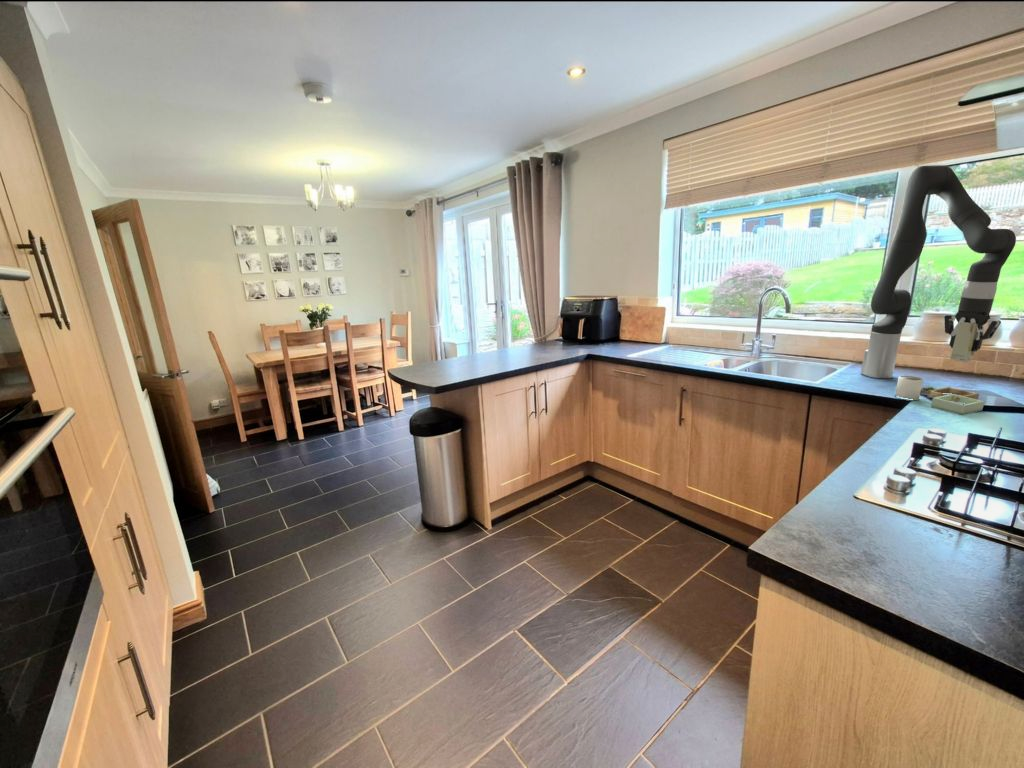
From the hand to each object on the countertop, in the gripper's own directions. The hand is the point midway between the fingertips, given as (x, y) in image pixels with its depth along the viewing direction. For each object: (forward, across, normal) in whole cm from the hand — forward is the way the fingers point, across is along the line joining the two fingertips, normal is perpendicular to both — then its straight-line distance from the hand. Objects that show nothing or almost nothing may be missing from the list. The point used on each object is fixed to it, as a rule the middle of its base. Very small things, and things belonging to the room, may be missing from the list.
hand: (963, 349), depth 155 cm
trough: (+17, -6, +9) cm, 20 cm away
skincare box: (+4, 0, 0) cm, 4 cm away
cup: (+17, +7, +11) cm, 21 cm away
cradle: (+17, +2, 0) cm, 17 cm away
